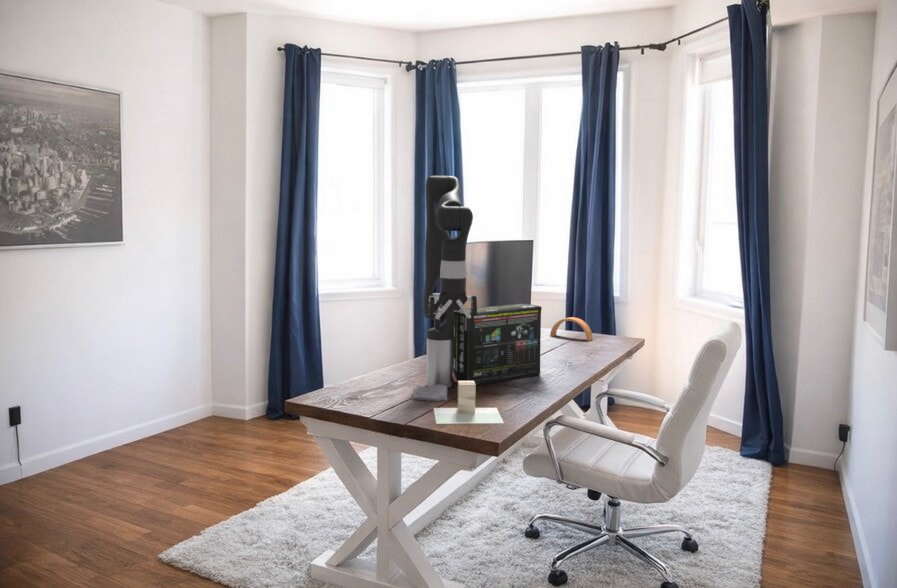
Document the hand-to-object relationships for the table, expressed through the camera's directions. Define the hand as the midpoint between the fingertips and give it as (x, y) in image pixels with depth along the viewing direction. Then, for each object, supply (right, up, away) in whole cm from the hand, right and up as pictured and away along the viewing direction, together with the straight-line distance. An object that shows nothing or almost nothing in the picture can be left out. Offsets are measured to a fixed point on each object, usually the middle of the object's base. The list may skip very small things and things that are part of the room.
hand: (452, 330), depth 209 cm
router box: (+17, -21, +58) cm, 64 cm away
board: (+5, -27, +9) cm, 29 cm away
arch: (+59, -11, +141) cm, 153 cm away
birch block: (+4, -26, +13) cm, 29 cm away
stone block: (-7, -25, +29) cm, 38 cm away
